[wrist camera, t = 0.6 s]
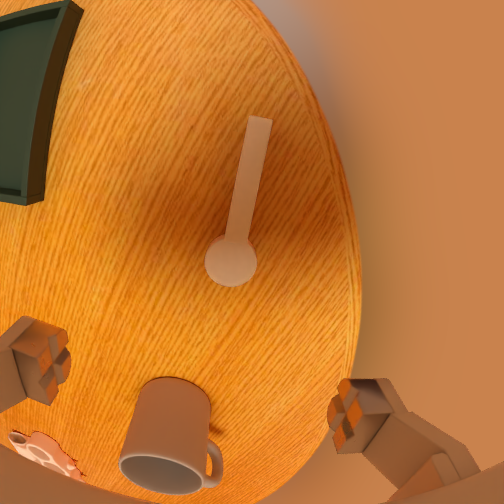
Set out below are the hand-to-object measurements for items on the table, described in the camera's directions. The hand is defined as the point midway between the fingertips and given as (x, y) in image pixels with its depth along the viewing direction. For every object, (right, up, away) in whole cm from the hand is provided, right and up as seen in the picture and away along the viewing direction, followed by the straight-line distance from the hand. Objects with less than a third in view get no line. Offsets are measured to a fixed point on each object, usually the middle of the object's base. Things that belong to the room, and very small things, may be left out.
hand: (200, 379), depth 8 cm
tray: (-29, +20, +12) cm, 38 cm away
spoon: (+1, +8, +18) cm, 19 cm away
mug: (-6, -15, +25) cm, 30 cm away
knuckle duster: (-36, -35, +30) cm, 59 cm away
